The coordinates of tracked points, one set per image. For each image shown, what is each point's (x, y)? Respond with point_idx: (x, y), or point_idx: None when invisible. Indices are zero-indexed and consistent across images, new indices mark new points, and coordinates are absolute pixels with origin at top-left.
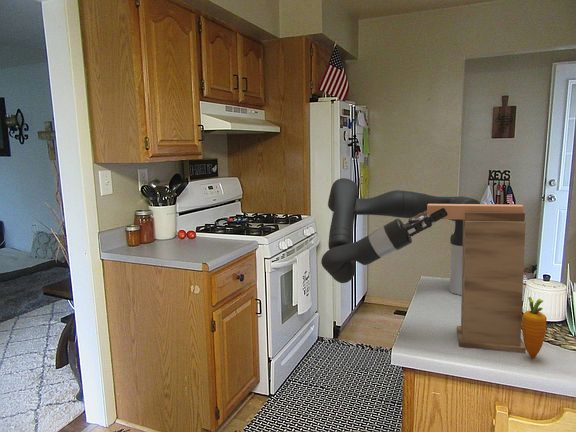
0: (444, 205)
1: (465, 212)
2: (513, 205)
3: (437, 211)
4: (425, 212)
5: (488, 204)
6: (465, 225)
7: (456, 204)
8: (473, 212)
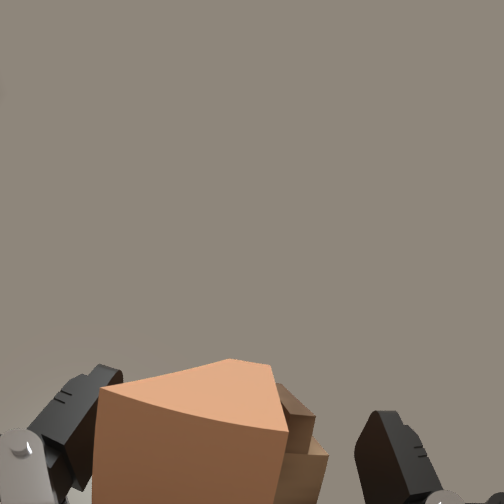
0: (273, 395)
1: (300, 414)
2: (250, 363)
3: (409, 445)
4: (51, 490)
5: (222, 363)
6: (310, 473)
7: (210, 374)
8: (292, 407)
